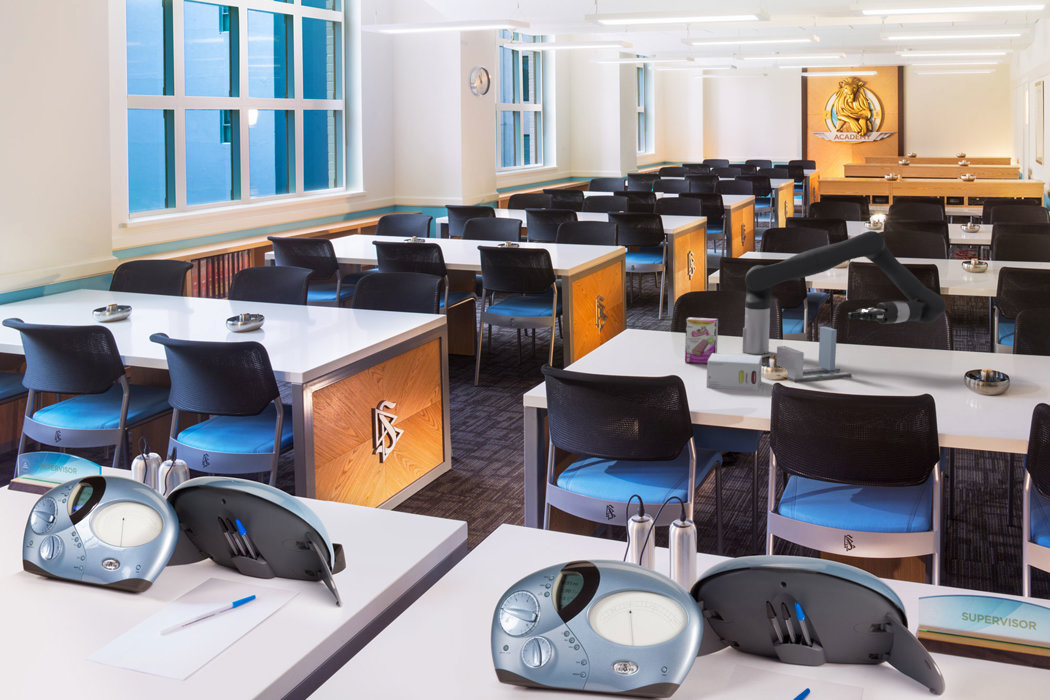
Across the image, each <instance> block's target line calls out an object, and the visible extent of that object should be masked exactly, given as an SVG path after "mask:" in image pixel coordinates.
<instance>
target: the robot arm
mask: <svg viewBox="0 0 1050 700" xmlns="http://www.w3.org/2000/svg"><path fill="white" fill-rule="evenodd" d="M859 258H866V259H868V260H869V261H870V262H872V264H874V265H876V266H877V267H878V268H879V269H881V271H882V272H883V273H884V274H885V275H886V276H887V277H888V278H889V279H890V280H891V282H892V283H893V284H894V285H895V286H896V287H897V288H898V290H899V291H900V292H901V293H902V294H903V295H904V297H906V298H907V299H908V300H907V301H900V300H899V301H898V300H897V301H885V302H879V303H877V305H876V306H875V307H868V308H863V307H861V308H858V309H855V311H852V312H848V313H847V319H848V320H865V321H877V322H878V323H879V324H881V325H885V324H886V325H888V324H898V323H899V324H900V323H903V322H913V321H914V322H917V323H923V324H930V323H933V322H935V321H936V320H938V319H939V317H940V316H942V314H943V313H945V311H946V310H947V302H946V300H945V299H944V298H943V297H942V295H939V294H938V293H937V292H934V291H933V290H932V289H930V288H928V287H926V285H924V284H923V283H922V282H921V281H920V280H919V279H918V278H917V276H915V275H914V274H913V273H912V272H911V271H910V270H909V269H908V268H907V267H906V266H905V265H903V264H902V263H901V262H900V261H899V260H898V259H896V257H895V256H894V255H893V253H892V252H891V251H890V249H889V248H888V247H887V245H886V241H885V238H884V237H883V235H882V233H879V232H877V231H875V230H869V231H865V232H863V233H861V234H857V235H856V236H853V237H851V238H848V239H846V240H843V241H839V242H835V243H832V244H828V245H823V246H820V247H816V248H812V249H808V250H804V251H803V252H800V253H797V254H796V255H793V256H791V257H789V258H786V259H784V260H783V261H780V262H776V263H774V264H769V265H762V264H757V265H754V266H752V267H750V269H748V271H747V272H746V275H745V279H744V282H745V285H746V293H745V294H746V295H745V302H744V303H745V304H744V305H745V306H744V309H745V311H744V313H745V314H744V327H743V328H742V353H746V354H751V355H763V354H764V353H765V354H768V353H769V352H770V351H769V350H770V349H769V348H770V323H771V322H770V321H771V319H770V317H771V301H772V287H774V286H775V285H778V284H781V283H784V282H787V281H792V280H797V279H801V278H802V279H803V278H806V277H810V276H813V275H814V276H815V275H818V274H821V273H825V272H827V271H830V270H831V269H834V268H835V267H837V266H839V265H841V264H843V263H845V262H847V261H850V260H855V259H859ZM918 300H920V301H922V302H923V303H922V304H921V303H919V302H918Z"/></svg>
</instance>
